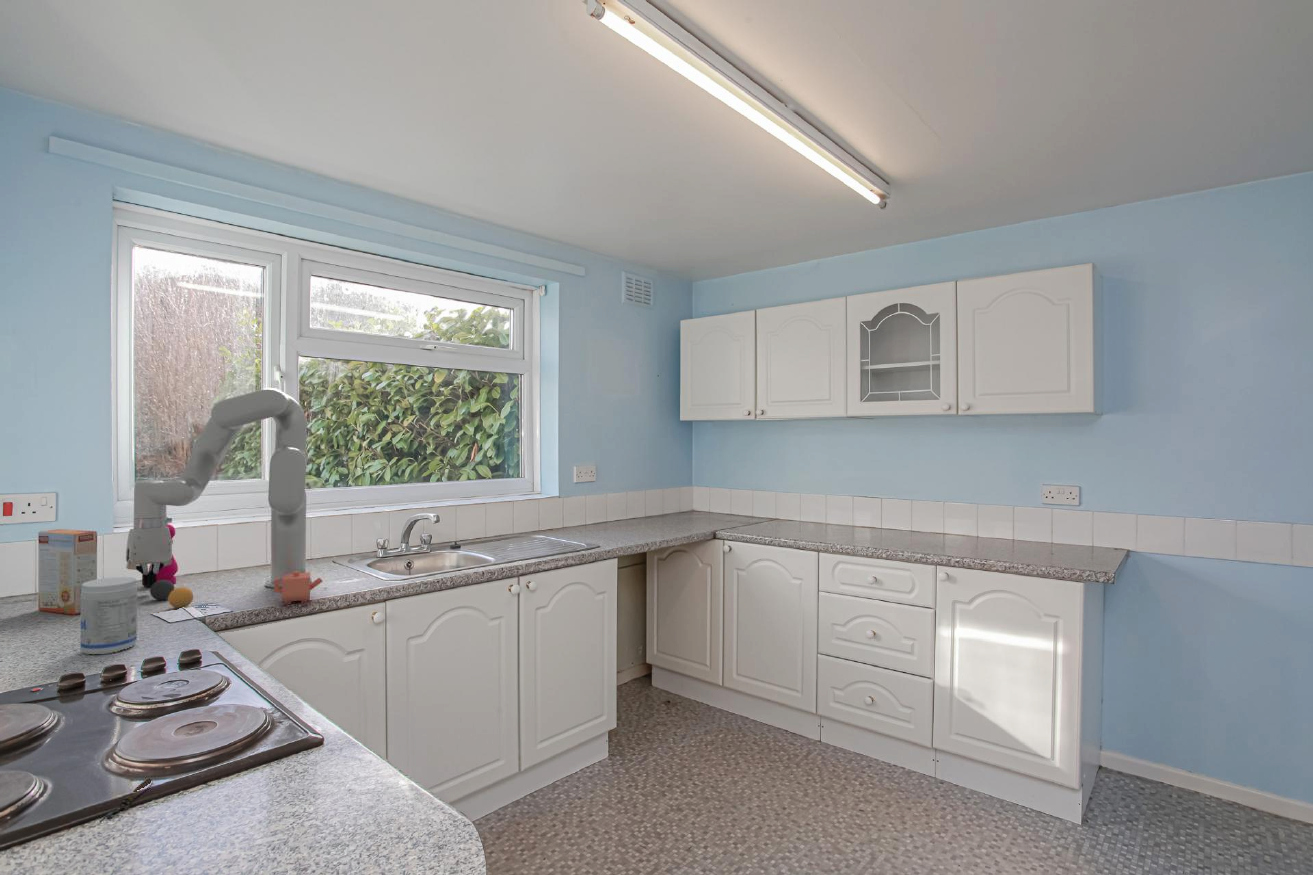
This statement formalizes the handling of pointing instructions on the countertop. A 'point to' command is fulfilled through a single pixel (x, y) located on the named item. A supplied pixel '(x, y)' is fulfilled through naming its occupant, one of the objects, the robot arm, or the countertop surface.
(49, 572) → the cracker box
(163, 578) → the pepper mill
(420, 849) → the countertop surface
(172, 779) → the countertop surface
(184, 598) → the orange ball
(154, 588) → the dark grey ball
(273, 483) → the robot arm
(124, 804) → the can opener
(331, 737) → the countertop surface
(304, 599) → the pink cube teapot
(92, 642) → the supplement tub
